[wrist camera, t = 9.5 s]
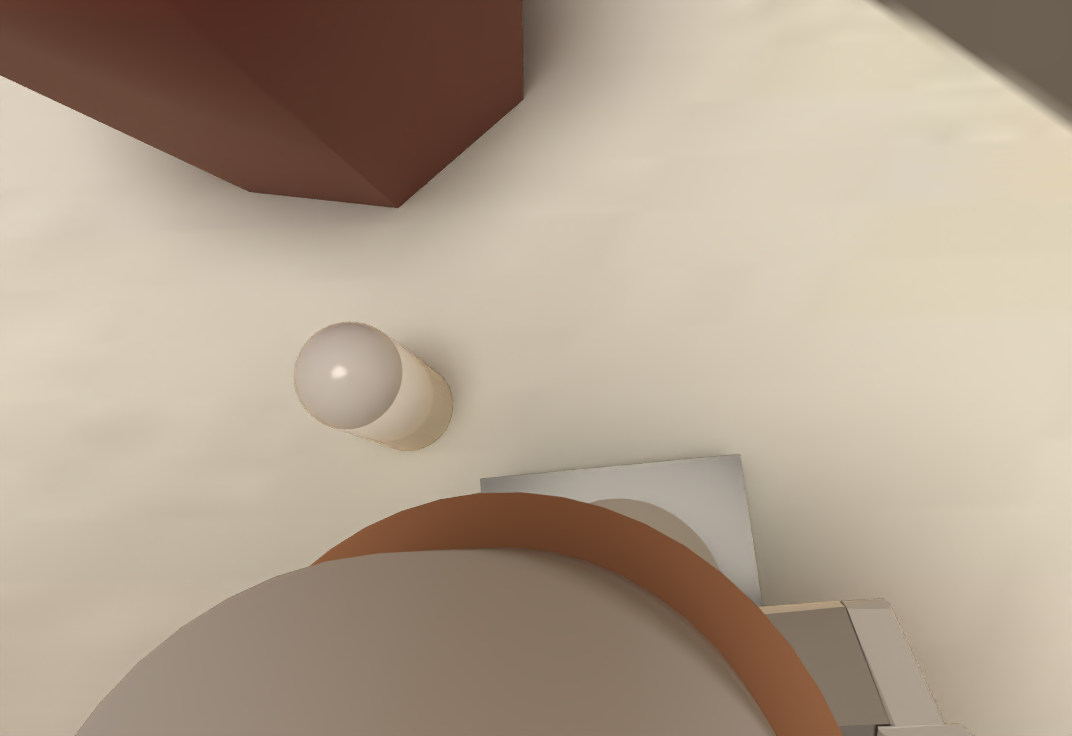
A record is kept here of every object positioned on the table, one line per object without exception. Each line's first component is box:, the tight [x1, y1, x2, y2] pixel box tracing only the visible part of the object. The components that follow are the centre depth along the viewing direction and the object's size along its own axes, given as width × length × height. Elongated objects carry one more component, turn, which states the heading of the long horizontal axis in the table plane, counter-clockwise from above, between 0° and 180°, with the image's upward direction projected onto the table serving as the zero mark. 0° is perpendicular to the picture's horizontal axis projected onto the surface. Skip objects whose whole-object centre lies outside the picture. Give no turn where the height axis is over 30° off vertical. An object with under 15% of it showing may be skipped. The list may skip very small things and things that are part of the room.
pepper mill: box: [75, 492, 843, 736], centre depth 10 cm, size 5×5×16 cm
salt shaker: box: [294, 322, 453, 451], centre depth 26 cm, size 4×4×8 cm
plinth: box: [480, 454, 763, 607], centre depth 25 cm, size 9×9×3 cm
